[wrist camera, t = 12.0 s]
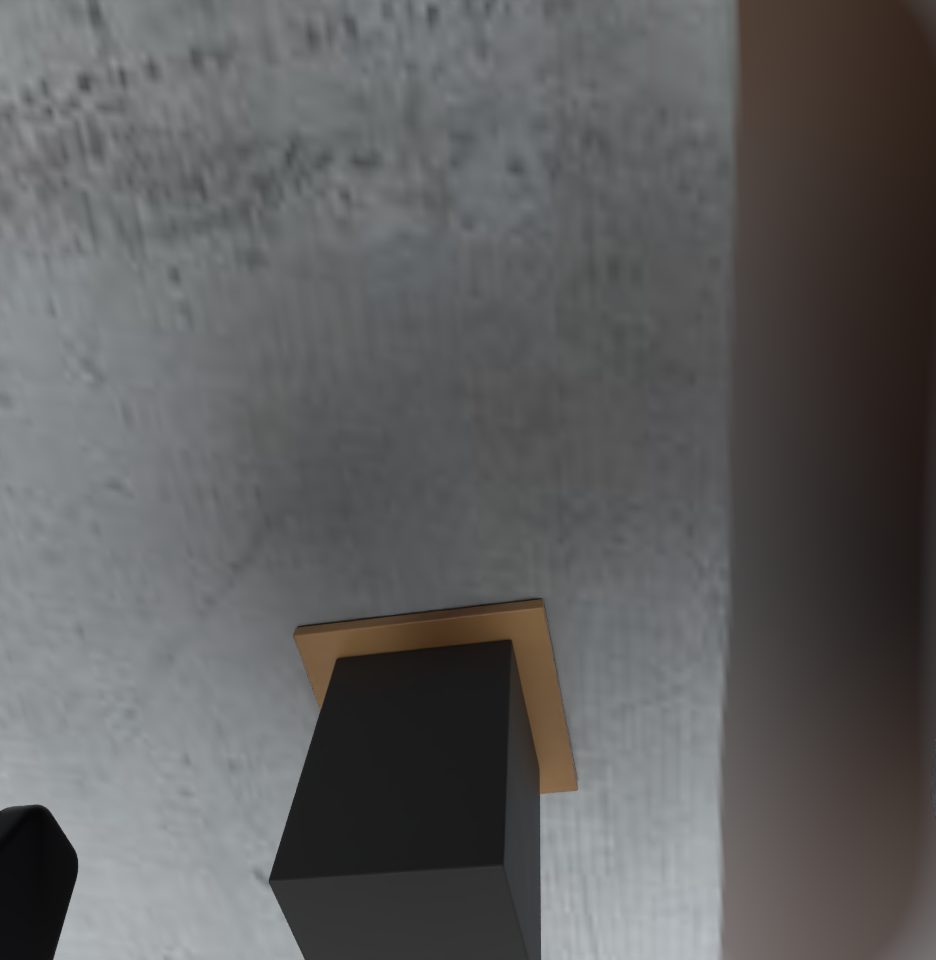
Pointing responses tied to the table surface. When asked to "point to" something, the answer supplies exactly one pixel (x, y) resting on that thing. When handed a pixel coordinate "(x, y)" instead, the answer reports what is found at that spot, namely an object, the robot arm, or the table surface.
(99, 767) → the table surface
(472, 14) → the table surface
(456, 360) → the table surface
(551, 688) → the coaster
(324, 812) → the black rectangular block
